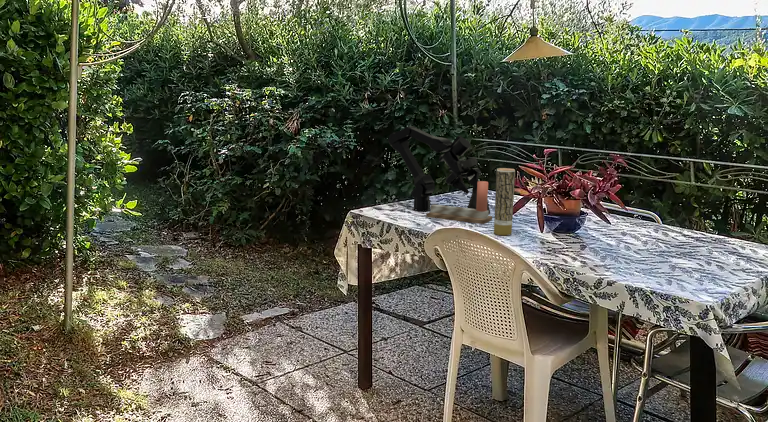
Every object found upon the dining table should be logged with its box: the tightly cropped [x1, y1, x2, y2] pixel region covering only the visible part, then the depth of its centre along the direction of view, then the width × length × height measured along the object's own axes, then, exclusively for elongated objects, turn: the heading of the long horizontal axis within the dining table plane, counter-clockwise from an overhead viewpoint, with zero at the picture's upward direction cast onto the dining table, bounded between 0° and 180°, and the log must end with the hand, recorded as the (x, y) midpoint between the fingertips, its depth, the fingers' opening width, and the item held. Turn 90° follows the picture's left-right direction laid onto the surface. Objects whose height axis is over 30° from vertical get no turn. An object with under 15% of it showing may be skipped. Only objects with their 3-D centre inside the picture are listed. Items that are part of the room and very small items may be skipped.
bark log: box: [493, 167, 516, 237], centre depth 249 cm, size 7×7×25 cm
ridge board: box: [425, 203, 493, 225], centre depth 278 cm, size 26×10×4 cm, turn 62°
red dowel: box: [476, 180, 489, 212], centre depth 272 cm, size 4×4×12 cm
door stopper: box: [466, 186, 491, 215], centre depth 289 cm, size 9×6×12 cm, turn 39°
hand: (474, 192), depth 274 cm, fingers open, 9 cm apart
